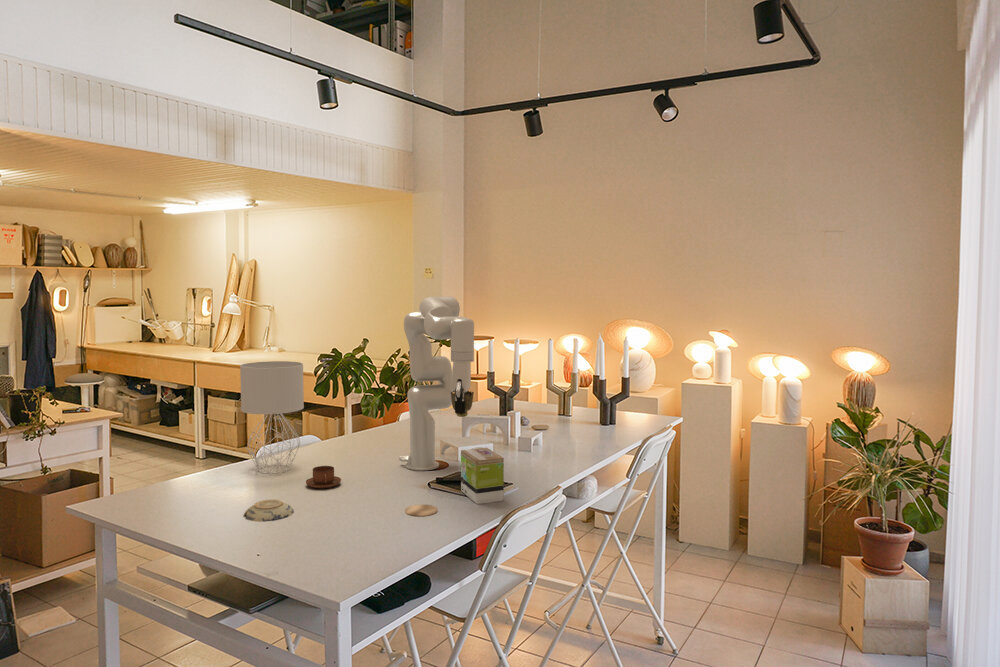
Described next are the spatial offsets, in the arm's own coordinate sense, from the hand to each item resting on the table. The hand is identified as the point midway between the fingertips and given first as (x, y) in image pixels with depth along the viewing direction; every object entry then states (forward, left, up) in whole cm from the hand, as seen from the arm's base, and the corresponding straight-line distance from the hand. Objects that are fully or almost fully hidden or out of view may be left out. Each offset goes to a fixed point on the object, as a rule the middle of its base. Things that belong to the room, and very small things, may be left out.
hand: (462, 410), depth 228 cm
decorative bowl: (-57, -20, -30) cm, 67 cm away
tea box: (+6, +4, -30) cm, 31 cm away
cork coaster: (-11, -13, -29) cm, 34 cm away
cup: (0, 0, -2) cm, 2 cm away
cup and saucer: (-50, +11, -30) cm, 60 cm away
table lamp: (-76, +29, -30) cm, 86 cm away
